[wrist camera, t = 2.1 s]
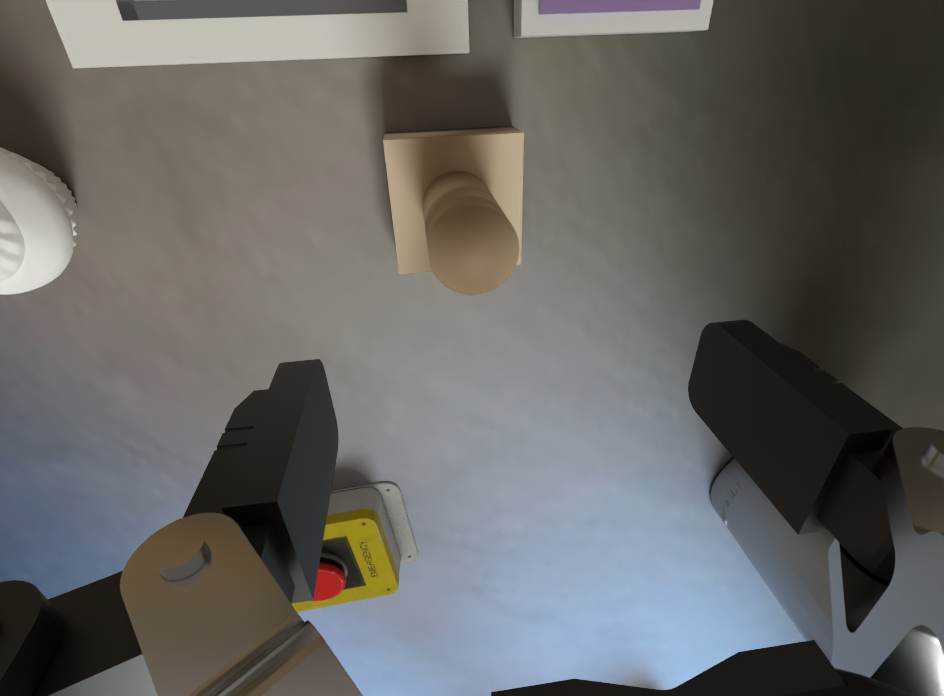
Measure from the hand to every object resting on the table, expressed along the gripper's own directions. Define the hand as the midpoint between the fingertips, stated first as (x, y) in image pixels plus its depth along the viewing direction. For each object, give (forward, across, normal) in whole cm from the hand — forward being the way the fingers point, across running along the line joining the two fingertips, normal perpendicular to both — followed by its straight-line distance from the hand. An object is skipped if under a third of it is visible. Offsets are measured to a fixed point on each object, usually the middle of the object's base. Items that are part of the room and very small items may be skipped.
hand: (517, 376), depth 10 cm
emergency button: (+17, +12, +25) cm, 32 cm away
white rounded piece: (+16, +19, -1) cm, 25 cm away
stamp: (+16, 0, 0) cm, 16 cm away
